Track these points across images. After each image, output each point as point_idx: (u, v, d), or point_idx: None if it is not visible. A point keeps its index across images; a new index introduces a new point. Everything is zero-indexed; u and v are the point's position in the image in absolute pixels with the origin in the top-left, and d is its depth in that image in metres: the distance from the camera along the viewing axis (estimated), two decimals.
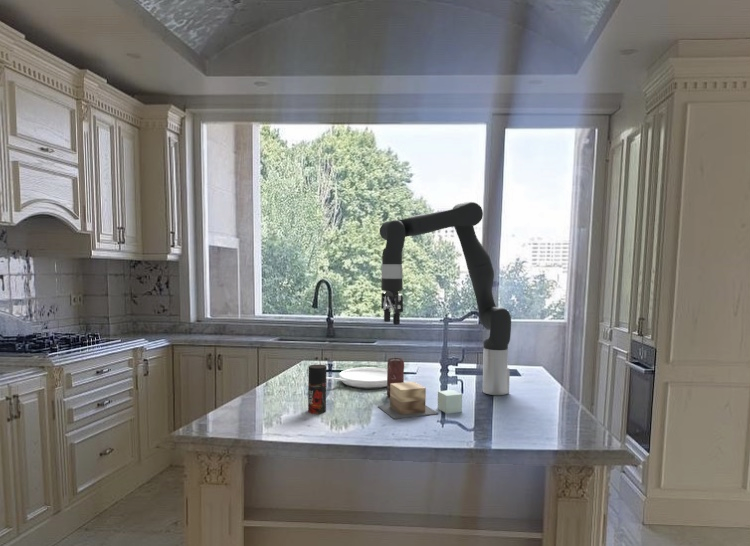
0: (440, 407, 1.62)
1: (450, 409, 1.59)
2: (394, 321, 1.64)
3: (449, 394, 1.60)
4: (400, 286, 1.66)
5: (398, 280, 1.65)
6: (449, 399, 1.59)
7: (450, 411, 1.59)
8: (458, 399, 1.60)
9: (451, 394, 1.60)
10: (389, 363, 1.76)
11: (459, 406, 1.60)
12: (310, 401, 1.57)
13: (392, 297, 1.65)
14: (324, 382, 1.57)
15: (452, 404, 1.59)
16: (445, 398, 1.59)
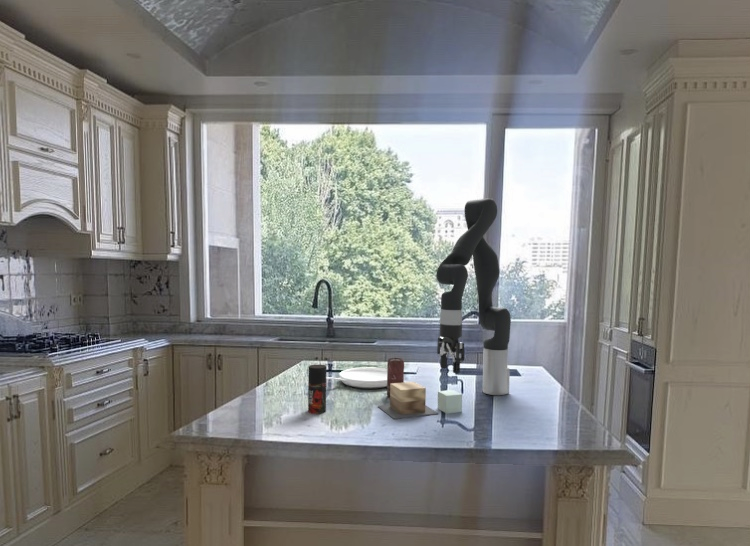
0: (440, 407, 1.62)
1: (450, 409, 1.59)
2: (454, 370, 1.57)
3: (449, 394, 1.60)
4: (460, 333, 1.59)
5: (458, 326, 1.59)
6: (449, 399, 1.59)
7: (450, 411, 1.59)
8: (458, 399, 1.60)
9: (451, 394, 1.60)
10: (389, 363, 1.76)
11: (459, 406, 1.60)
12: (310, 401, 1.57)
13: (452, 344, 1.59)
14: (324, 382, 1.57)
15: (452, 404, 1.59)
16: (445, 398, 1.59)
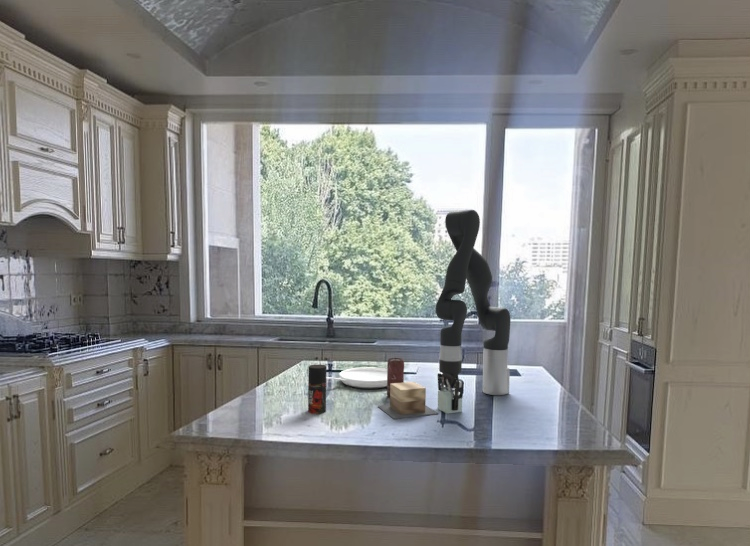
0: (440, 407, 1.62)
1: (450, 408, 1.59)
2: (453, 407, 1.58)
3: (449, 394, 1.60)
4: (460, 368, 1.60)
5: (458, 363, 1.59)
6: (449, 399, 1.59)
7: (450, 411, 1.59)
8: None
9: None
10: (389, 363, 1.76)
11: (459, 406, 1.60)
12: (310, 401, 1.57)
13: (452, 380, 1.59)
14: (324, 382, 1.57)
15: None
16: (445, 398, 1.59)
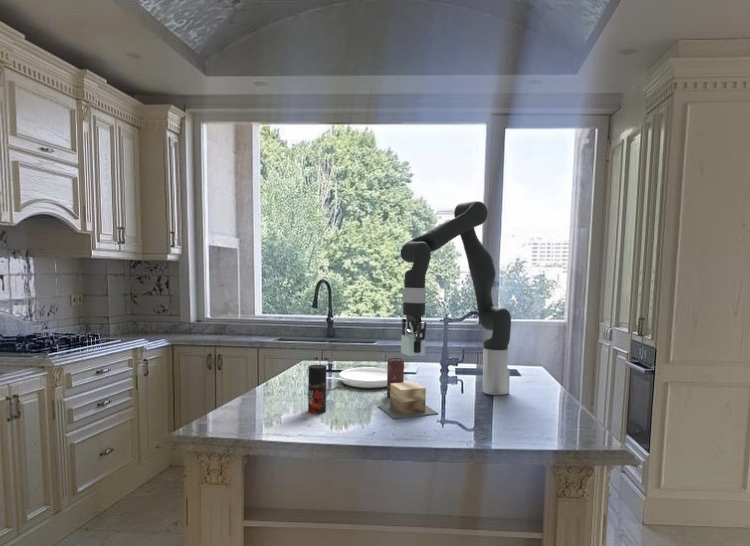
0: (403, 350, 1.60)
1: (412, 351, 1.57)
2: (415, 349, 1.57)
3: (412, 336, 1.58)
4: (423, 311, 1.58)
5: (421, 305, 1.57)
6: (411, 341, 1.57)
7: (412, 353, 1.57)
8: (421, 341, 1.58)
9: None
10: (389, 363, 1.76)
11: (422, 349, 1.58)
12: (310, 401, 1.57)
13: (414, 322, 1.57)
14: (324, 382, 1.57)
15: None
16: (407, 340, 1.57)
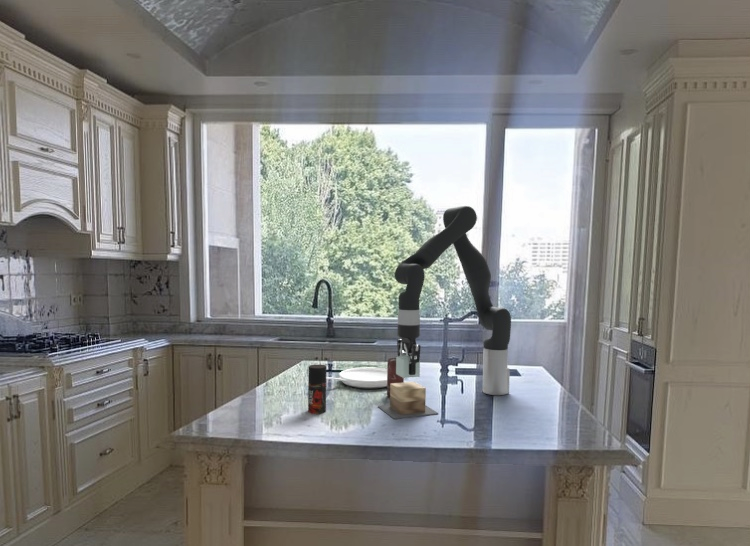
0: (398, 372, 1.61)
1: (407, 373, 1.57)
2: (410, 371, 1.57)
3: (406, 358, 1.58)
4: (417, 333, 1.58)
5: (415, 327, 1.57)
6: (406, 363, 1.57)
7: (407, 375, 1.57)
8: None
9: None
10: (389, 363, 1.76)
11: (417, 371, 1.59)
12: (310, 401, 1.57)
13: (409, 345, 1.57)
14: (324, 382, 1.57)
15: None
16: (402, 362, 1.57)
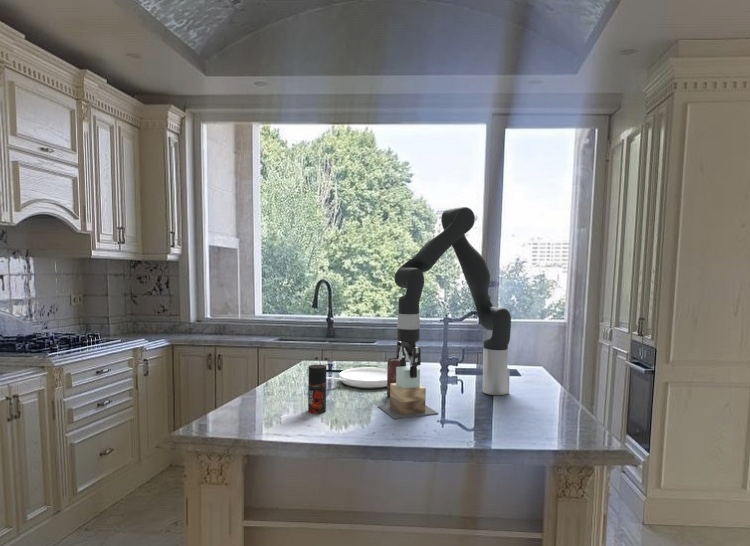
0: (398, 382, 1.61)
1: (407, 384, 1.57)
2: (411, 374, 1.56)
3: (407, 369, 1.58)
4: (417, 337, 1.58)
5: (415, 331, 1.57)
6: (406, 374, 1.57)
7: (407, 386, 1.57)
8: None
9: (409, 369, 1.58)
10: (389, 363, 1.76)
11: (417, 381, 1.59)
12: (310, 401, 1.57)
13: (409, 349, 1.57)
14: (324, 382, 1.57)
15: (410, 379, 1.58)
16: (402, 373, 1.57)
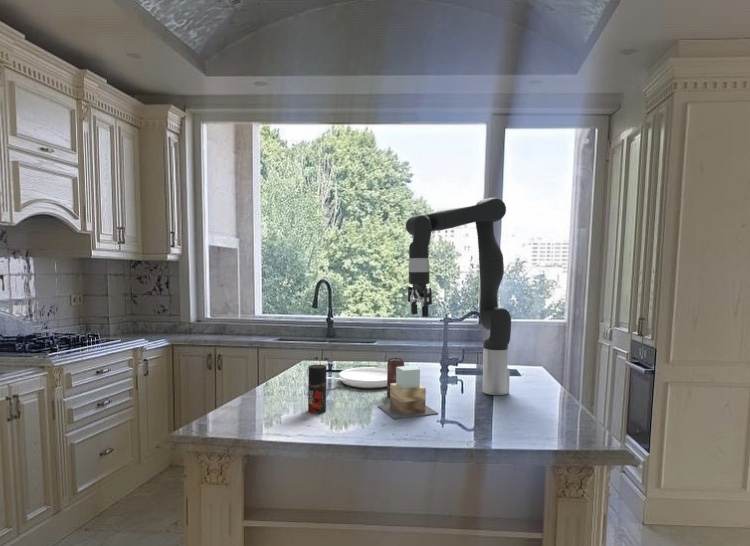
0: (398, 382, 1.61)
1: (407, 384, 1.57)
2: (423, 313, 1.68)
3: (407, 369, 1.58)
4: (428, 279, 1.70)
5: (426, 273, 1.69)
6: (406, 374, 1.57)
7: (407, 386, 1.57)
8: (416, 374, 1.58)
9: (409, 369, 1.58)
10: (389, 363, 1.76)
11: (417, 381, 1.59)
12: (310, 401, 1.57)
13: (420, 290, 1.69)
14: (324, 382, 1.57)
15: (410, 379, 1.58)
16: (402, 373, 1.57)
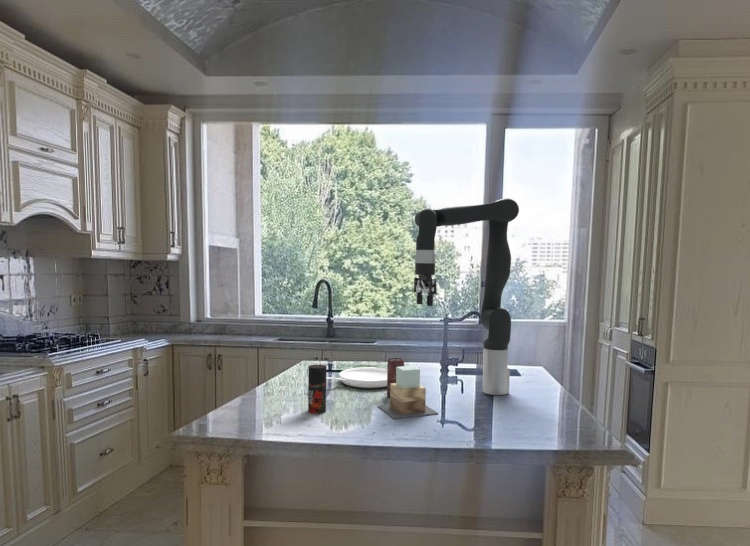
0: (398, 382, 1.61)
1: (407, 384, 1.57)
2: (428, 303, 1.76)
3: (407, 369, 1.58)
4: (433, 270, 1.78)
5: (431, 265, 1.77)
6: (406, 374, 1.57)
7: (407, 386, 1.57)
8: (416, 374, 1.58)
9: (409, 369, 1.58)
10: (389, 363, 1.76)
11: (417, 381, 1.59)
12: (310, 401, 1.57)
13: (426, 280, 1.77)
14: (324, 382, 1.57)
15: (410, 379, 1.58)
16: (402, 373, 1.57)
